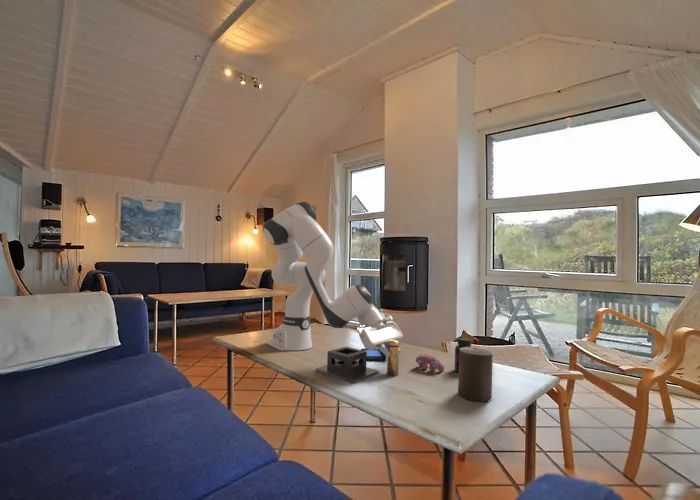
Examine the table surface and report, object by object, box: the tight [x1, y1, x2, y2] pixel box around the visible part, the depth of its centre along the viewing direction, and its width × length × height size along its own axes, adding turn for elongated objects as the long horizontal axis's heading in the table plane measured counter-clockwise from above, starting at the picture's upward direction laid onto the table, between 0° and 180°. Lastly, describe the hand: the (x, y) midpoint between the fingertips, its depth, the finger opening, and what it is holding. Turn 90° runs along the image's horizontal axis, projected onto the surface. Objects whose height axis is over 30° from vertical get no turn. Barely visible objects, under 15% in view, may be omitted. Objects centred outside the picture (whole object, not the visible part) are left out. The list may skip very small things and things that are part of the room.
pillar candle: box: [457, 346, 494, 403], centre depth 105 cm, size 10×10×15 cm
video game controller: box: [415, 353, 445, 373], centre depth 129 cm, size 10×5×7 cm, turn 48°
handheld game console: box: [360, 345, 387, 363], centre depth 146 cm, size 16×13×9 cm
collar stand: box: [315, 346, 379, 385], centre depth 124 cm, size 18×14×8 cm
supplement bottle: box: [453, 337, 472, 374], centre depth 128 cm, size 7×7×12 cm
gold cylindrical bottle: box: [386, 339, 400, 377], centre depth 123 cm, size 4×4×12 cm
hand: (394, 354), depth 123 cm, fingers open, 4 cm apart
